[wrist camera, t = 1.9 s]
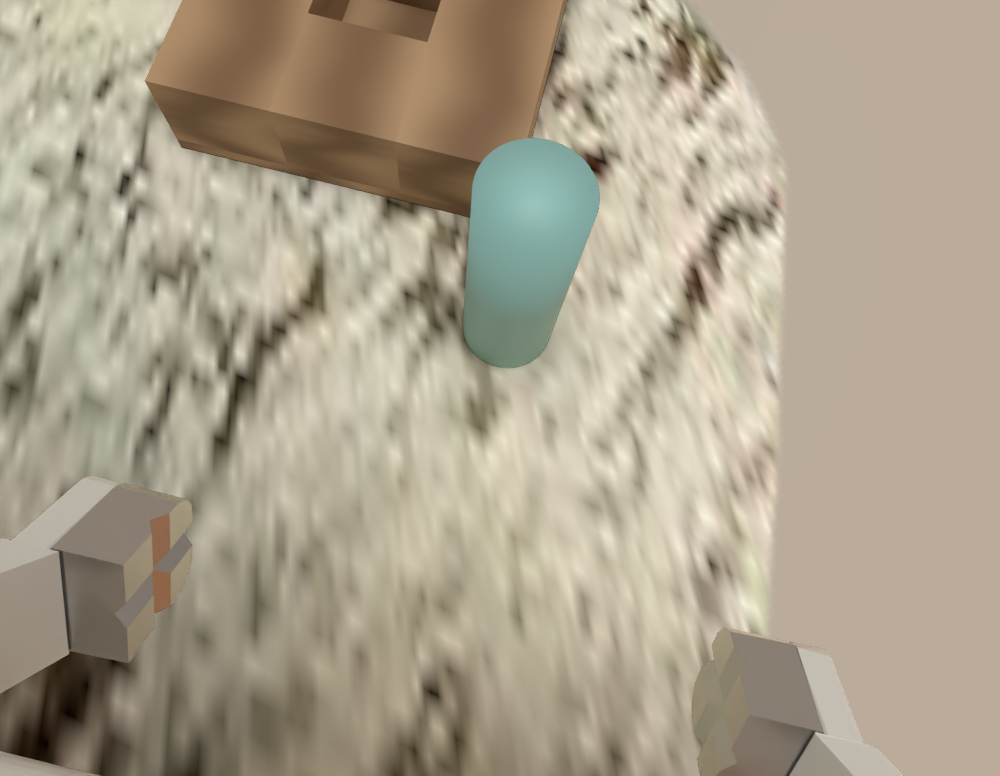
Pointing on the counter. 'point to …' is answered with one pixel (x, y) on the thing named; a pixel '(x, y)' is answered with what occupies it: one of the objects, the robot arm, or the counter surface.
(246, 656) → the counter surface
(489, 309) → the pin
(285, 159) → the bore block
